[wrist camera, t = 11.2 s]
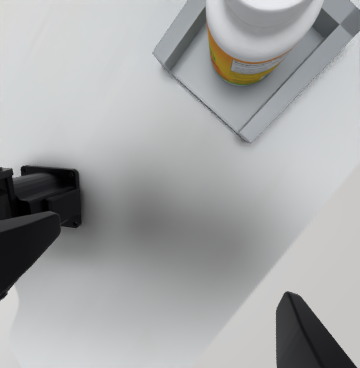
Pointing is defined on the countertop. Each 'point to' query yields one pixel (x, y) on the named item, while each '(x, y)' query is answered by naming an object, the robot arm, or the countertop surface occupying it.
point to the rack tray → (265, 89)
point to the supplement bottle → (255, 35)
